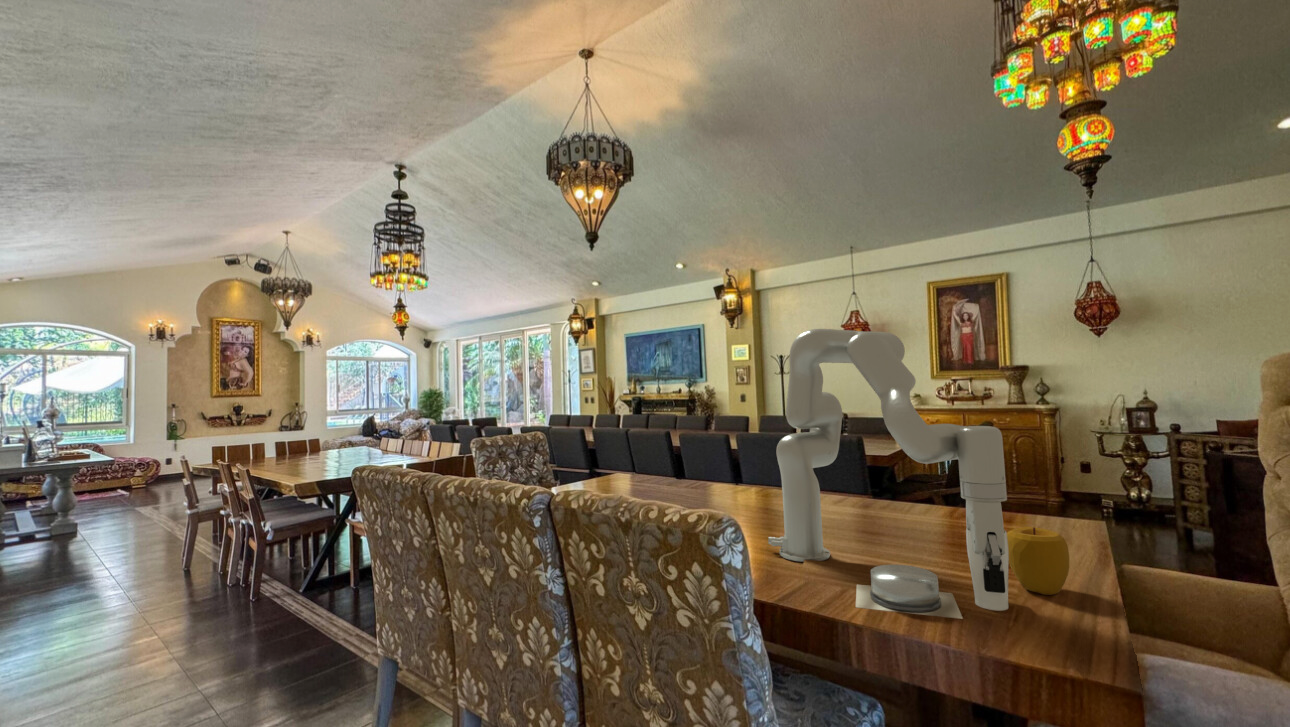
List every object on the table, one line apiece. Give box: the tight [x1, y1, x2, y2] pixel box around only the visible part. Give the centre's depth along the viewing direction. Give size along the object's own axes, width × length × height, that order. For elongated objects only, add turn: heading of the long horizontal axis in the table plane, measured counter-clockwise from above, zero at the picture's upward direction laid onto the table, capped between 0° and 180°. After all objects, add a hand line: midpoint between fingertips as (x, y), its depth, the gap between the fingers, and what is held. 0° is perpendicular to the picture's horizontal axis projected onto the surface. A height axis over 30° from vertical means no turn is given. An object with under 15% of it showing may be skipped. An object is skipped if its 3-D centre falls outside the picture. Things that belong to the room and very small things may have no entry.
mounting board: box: [855, 583, 964, 620], centre depth 106 cm, size 18×13×1 cm
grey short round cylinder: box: [870, 564, 941, 614], centre depth 106 cm, size 13×13×5 cm
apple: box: [1006, 526, 1070, 596], centre depth 111 cm, size 11×11×13 cm
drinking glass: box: [965, 527, 1010, 612], centre depth 103 cm, size 7×7×15 cm
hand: (990, 583), depth 102 cm, fingers open, 7 cm apart
